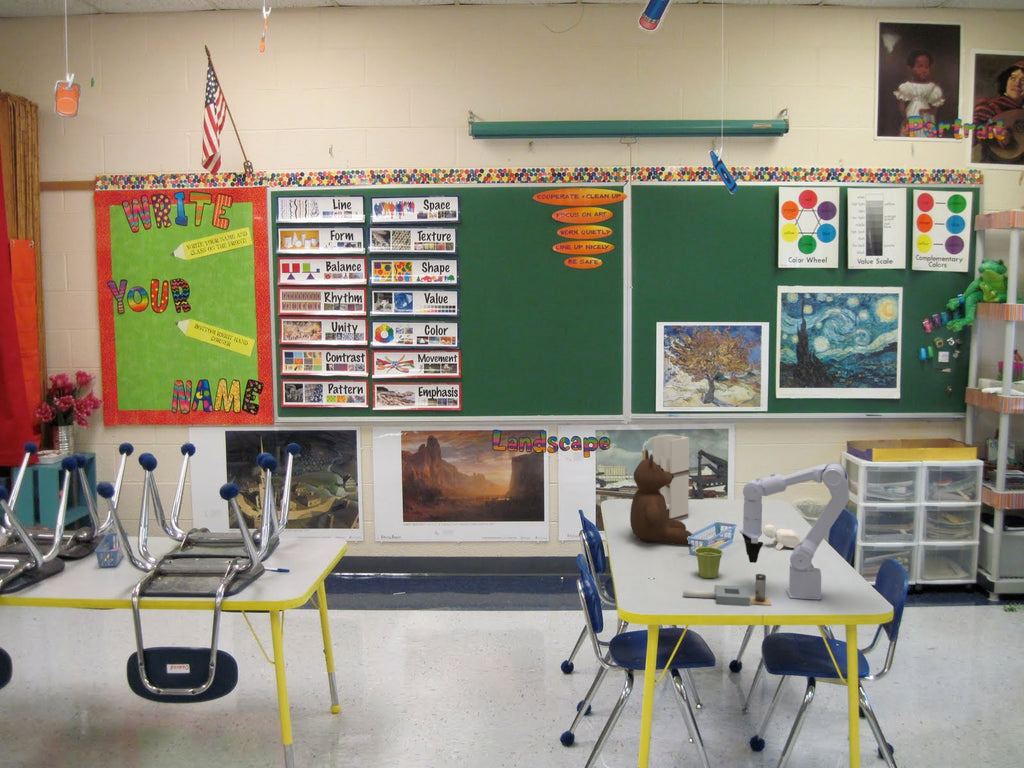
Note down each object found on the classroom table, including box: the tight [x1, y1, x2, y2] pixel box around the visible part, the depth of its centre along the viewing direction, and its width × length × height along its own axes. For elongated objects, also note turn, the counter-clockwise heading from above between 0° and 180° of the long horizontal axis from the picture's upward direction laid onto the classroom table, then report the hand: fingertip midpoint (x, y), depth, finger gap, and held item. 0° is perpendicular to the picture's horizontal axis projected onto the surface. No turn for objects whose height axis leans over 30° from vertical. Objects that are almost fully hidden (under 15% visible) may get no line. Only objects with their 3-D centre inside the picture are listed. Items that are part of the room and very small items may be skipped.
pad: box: [749, 595, 772, 607], centre depth 262 cm, size 6×6×1 cm
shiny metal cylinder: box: [754, 573, 767, 602], centre depth 261 cm, size 3×3×8 cm
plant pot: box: [694, 546, 724, 579], centre depth 285 cm, size 9×9×9 cm
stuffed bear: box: [629, 449, 694, 546], centre depth 325 cm, size 29×23×35 cm
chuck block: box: [682, 584, 751, 607], centre depth 265 cm, size 20×10×2 cm, turn 80°
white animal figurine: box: [762, 523, 803, 551], centre depth 317 cm, size 9×8×15 cm
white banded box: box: [651, 433, 690, 522], centre depth 356 cm, size 11×11×35 cm
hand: (751, 558), depth 273 cm, fingers open, 7 cm apart
